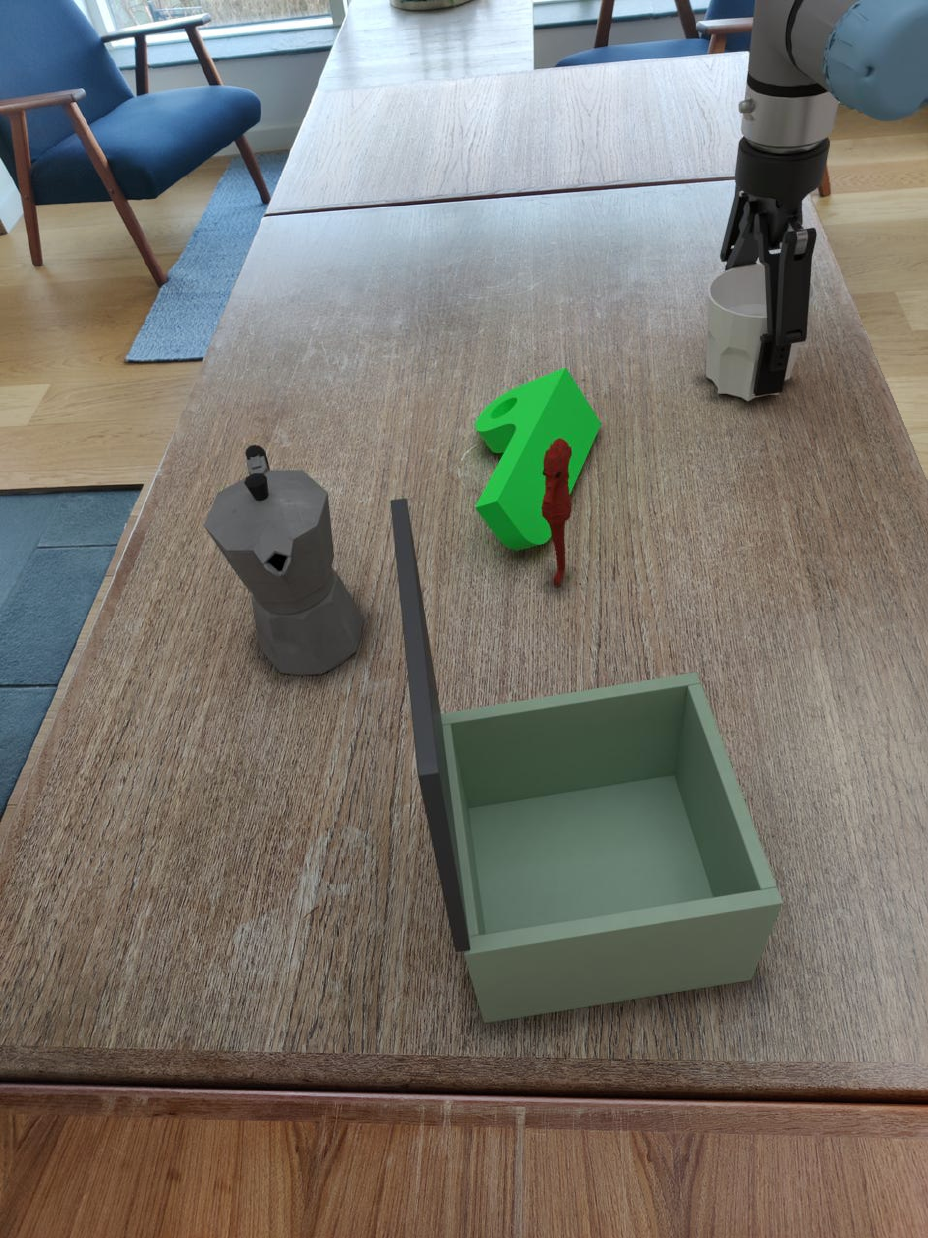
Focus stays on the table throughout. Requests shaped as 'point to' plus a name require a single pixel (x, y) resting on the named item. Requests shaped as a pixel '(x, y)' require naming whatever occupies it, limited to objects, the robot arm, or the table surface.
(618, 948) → the green box
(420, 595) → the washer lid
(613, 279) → the table surface
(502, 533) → the bracket
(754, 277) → the cup
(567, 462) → the toy
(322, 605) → the coffeepot
